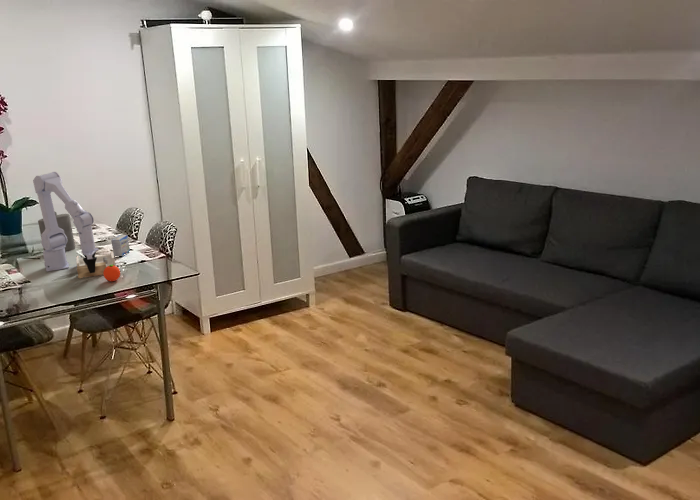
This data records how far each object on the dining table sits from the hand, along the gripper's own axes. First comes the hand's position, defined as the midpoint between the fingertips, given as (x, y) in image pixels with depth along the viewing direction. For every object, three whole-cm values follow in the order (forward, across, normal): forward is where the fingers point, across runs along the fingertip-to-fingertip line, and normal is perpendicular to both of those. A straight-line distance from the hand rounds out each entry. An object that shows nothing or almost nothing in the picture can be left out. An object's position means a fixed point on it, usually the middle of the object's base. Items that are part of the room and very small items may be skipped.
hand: (92, 269), depth 307 cm
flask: (+2, +43, +14) cm, 45 cm away
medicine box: (+2, +23, -14) cm, 27 cm away
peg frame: (+2, +11, -2) cm, 11 cm away
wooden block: (+2, 0, 0) cm, 3 cm away
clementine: (+2, -12, -8) cm, 15 cm away
